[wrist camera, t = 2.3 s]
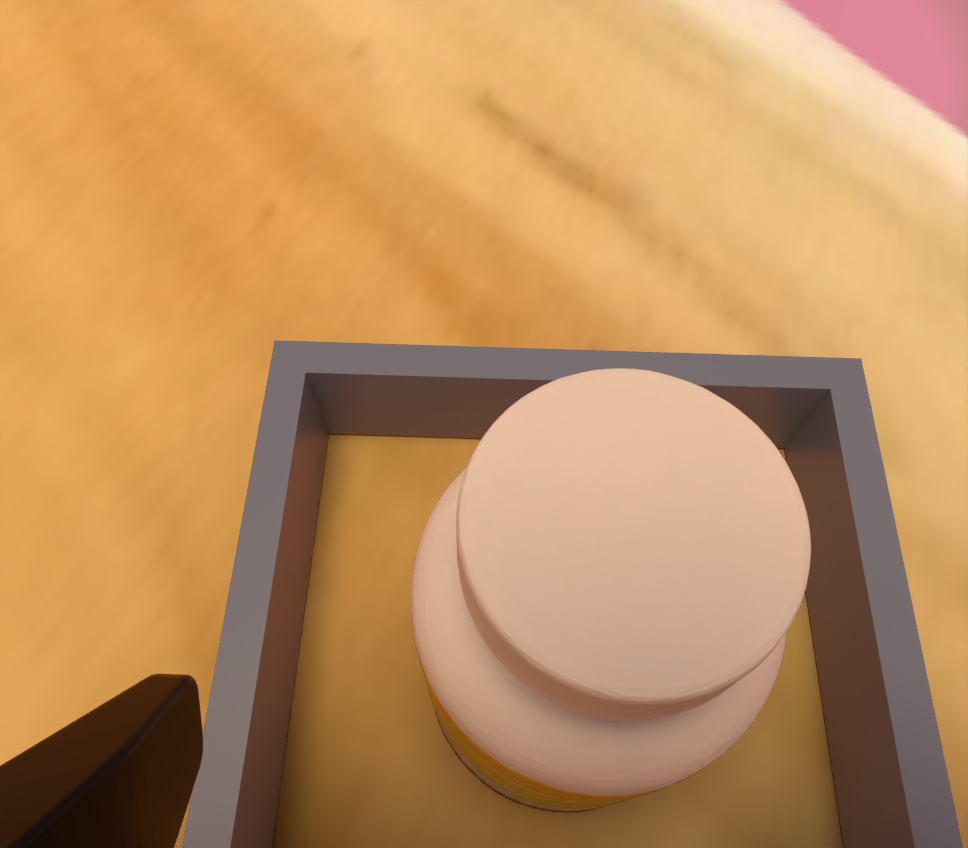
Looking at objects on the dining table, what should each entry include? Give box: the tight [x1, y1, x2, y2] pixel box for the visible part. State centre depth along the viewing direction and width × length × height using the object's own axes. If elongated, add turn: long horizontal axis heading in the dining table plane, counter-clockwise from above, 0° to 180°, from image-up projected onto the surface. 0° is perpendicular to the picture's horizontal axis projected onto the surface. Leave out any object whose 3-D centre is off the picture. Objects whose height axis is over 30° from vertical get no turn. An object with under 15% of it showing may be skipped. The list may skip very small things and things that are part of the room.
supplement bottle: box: [411, 368, 811, 812], centre depth 13 cm, size 5×5×10 cm
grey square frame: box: [182, 341, 963, 848], centre depth 16 cm, size 13×13×3 cm
